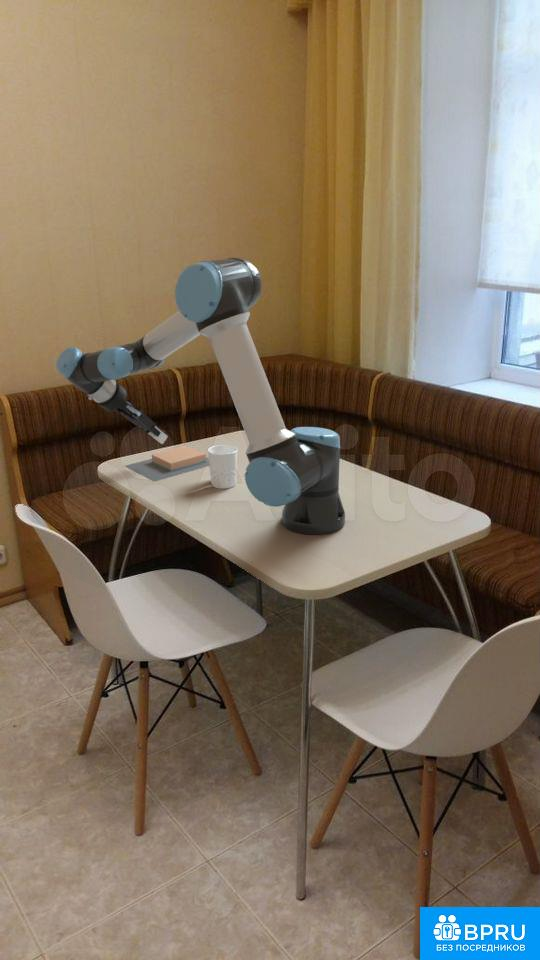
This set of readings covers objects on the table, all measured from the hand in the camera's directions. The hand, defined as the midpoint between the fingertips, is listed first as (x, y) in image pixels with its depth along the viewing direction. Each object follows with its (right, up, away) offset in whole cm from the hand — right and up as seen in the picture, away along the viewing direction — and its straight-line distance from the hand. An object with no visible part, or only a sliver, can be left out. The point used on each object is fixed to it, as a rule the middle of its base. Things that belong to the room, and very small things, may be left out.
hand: (163, 439), depth 214 cm
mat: (+2, -7, +4) cm, 9 cm away
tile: (-1, -7, +1) cm, 7 cm away
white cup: (+18, -13, -9) cm, 24 cm away
